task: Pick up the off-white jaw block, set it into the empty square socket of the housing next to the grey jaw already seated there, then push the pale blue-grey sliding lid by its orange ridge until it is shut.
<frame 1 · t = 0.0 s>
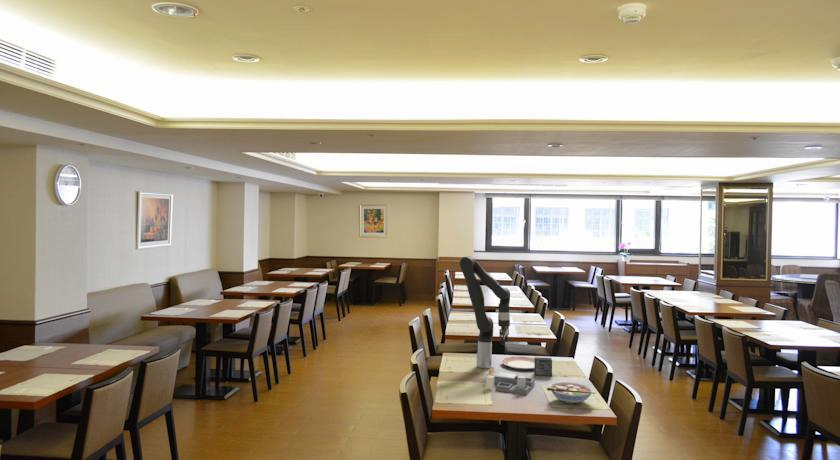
hand: (504, 343, 354), 17 cm above the table, tool pointing down, fingers open, 8 cm apart
dinner plate: (522, 366, 364), on the table
housing: (515, 387, 316), on the table
small box: (543, 375, 344), on the table
ramen bowl: (570, 402, 293), on the table
white jaw block: (490, 388, 314), on the table
lid: (502, 372, 325), point 6 cm above the table, slide at 10.0 cm
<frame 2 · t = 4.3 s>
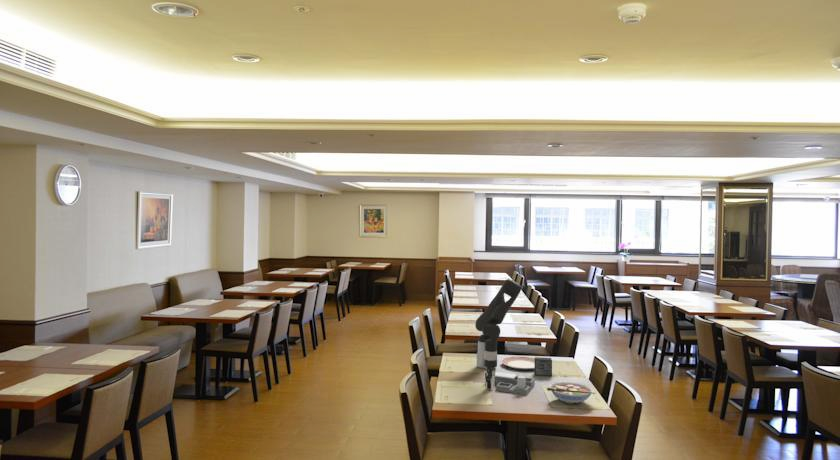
hand: (490, 387, 314), 1 cm above the table, tool pointing down, fingers closed on white jaw block, 4 cm apart
white jaw block: (490, 388, 314), on the table, touching gripper
everything else where it was.
when the fingers open (3 cm above the table, at t = 8.4 s): white jaw block drops 1 cm, resting on housing.
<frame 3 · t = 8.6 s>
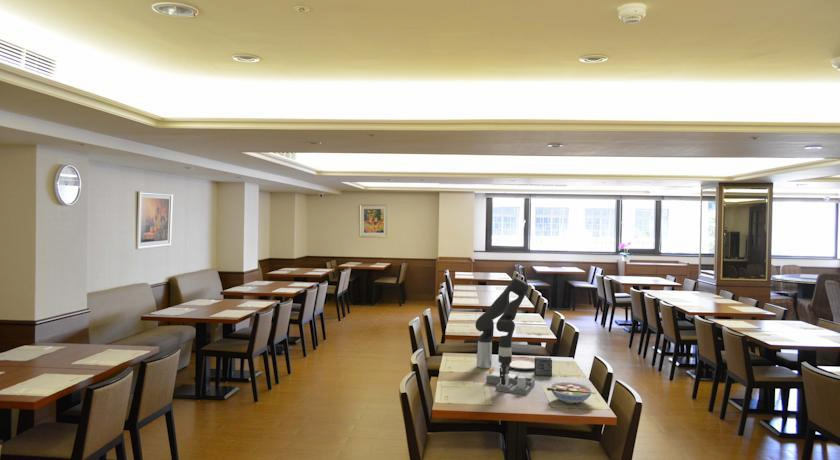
hand: (504, 383, 312), 4 cm above the table, tool pointing down, fingers open, 5 cm apart
white jaw block: (504, 386, 313), point 2 cm above the table, touching housing
everything else where it was.
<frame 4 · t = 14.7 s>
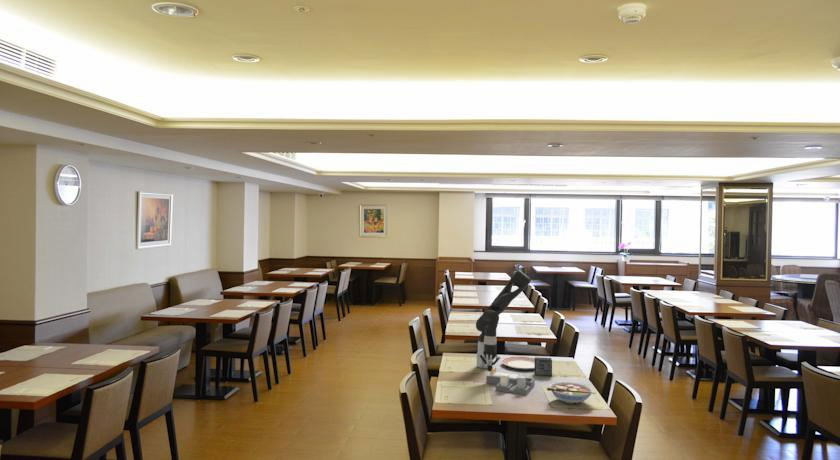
hand: (489, 371, 328), 6 cm above the table, tool pointing down, fingers closed
lid: (504, 373, 324), point 6 cm above the table, slide at 8.6 cm, touching gripper
everything else where it was.
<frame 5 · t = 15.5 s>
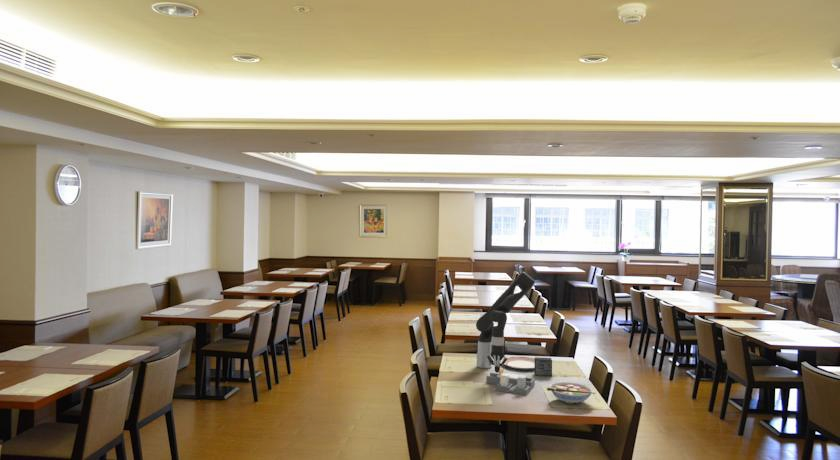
hand: (497, 372, 326), 6 cm above the table, tool pointing down, fingers closed
lid: (512, 374, 322), point 6 cm above the table, slide at 3.9 cm, touching gripper
everything else where it was.
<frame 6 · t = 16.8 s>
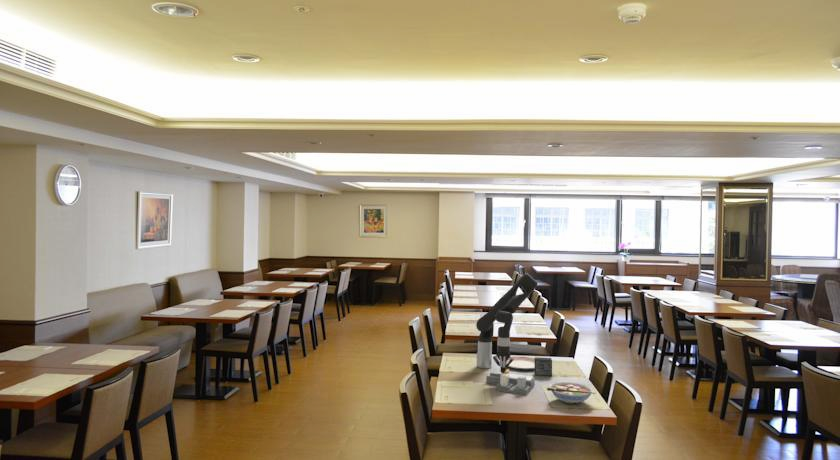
hand: (503, 373, 325), 6 cm above the table, tool pointing down, fingers closed
lid: (518, 374, 321), point 6 cm above the table, slide at 0.3 cm, touching gripper
everything else where it was.
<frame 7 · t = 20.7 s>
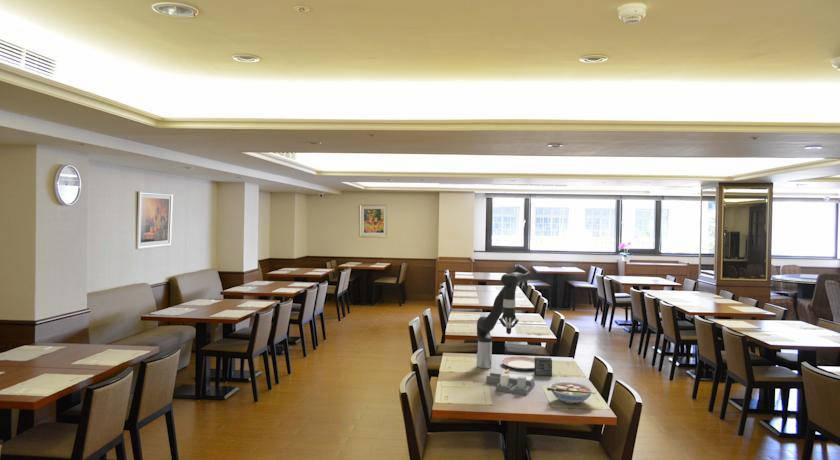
hand: (508, 333, 338), 27 cm above the table, tool pointing down, fingers closed
lid: (518, 374, 321), point 6 cm above the table, slide at 0.2 cm
everything else where it was.
at the end: white jaw block 0.2 cm from the target spot on the housing, point 1.5 cm above the housing's base; white jaw block tilted 0°; lid slide at 0.2 cm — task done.
